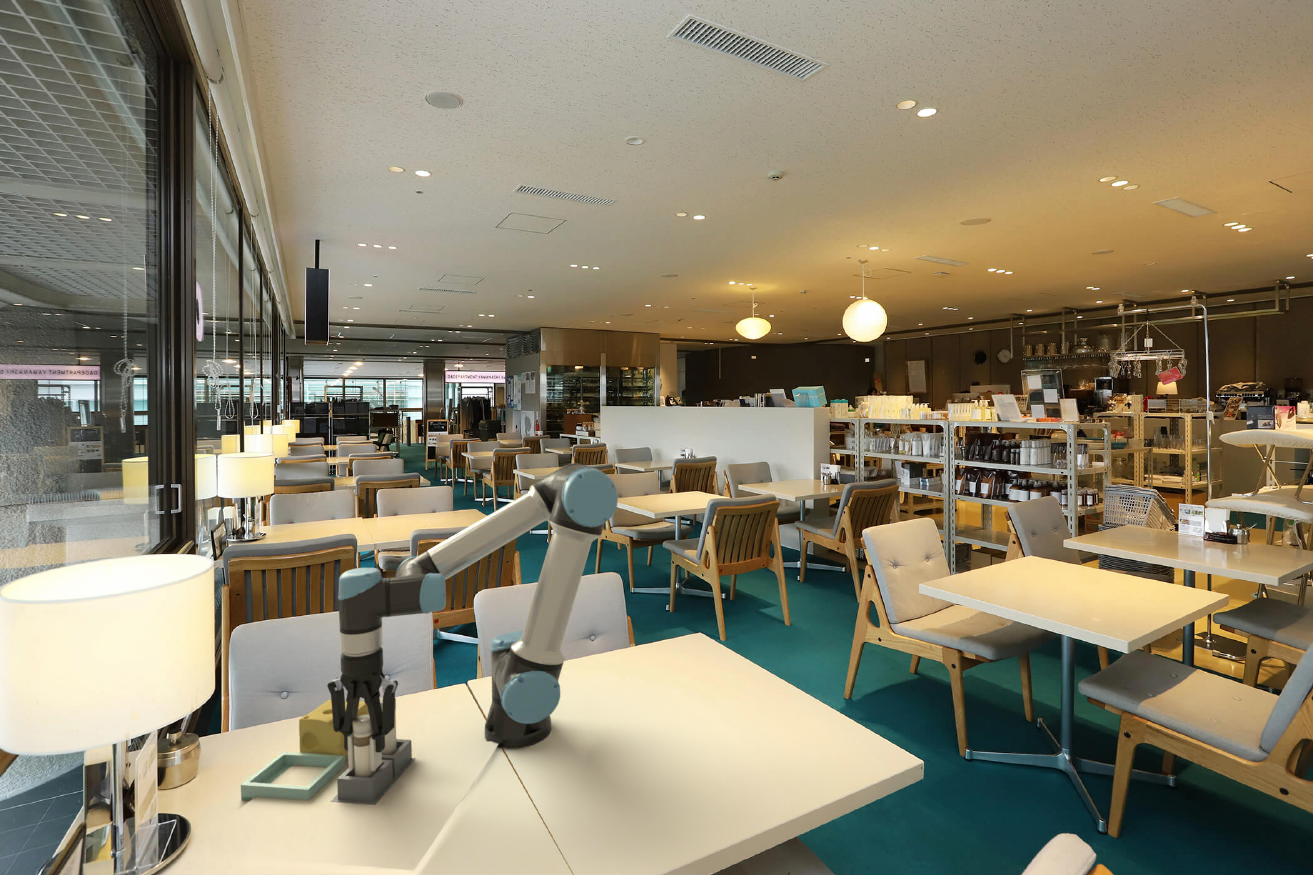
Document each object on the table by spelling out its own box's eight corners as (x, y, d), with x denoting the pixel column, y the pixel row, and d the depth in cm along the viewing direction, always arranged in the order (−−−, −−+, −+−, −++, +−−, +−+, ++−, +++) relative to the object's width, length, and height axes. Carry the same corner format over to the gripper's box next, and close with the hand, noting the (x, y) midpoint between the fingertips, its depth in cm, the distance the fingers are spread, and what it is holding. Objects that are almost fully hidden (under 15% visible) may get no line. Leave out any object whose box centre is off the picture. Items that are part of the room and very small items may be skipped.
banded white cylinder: (381, 783, 130) (379, 715, 129) (370, 795, 126) (367, 725, 125) (362, 782, 131) (360, 714, 130) (350, 794, 127) (348, 723, 126)
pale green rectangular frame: (345, 769, 137) (345, 755, 137) (308, 804, 125) (308, 789, 125) (283, 765, 139) (282, 751, 138) (241, 799, 127) (240, 784, 127)
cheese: (341, 769, 137) (340, 723, 137) (296, 763, 139) (295, 718, 139) (372, 743, 147) (371, 700, 147) (330, 738, 150) (329, 696, 149)
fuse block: (415, 762, 139) (414, 694, 139) (375, 809, 124) (373, 732, 123) (376, 760, 140) (374, 692, 140) (330, 806, 125) (328, 729, 124)
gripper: (412, 643, 130) (415, 758, 131) (332, 640, 132) (336, 753, 133) (393, 658, 122) (396, 780, 124) (308, 654, 124) (312, 774, 125)
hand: (365, 765), depth 128 cm, fingers closed on banded white cylinder, 4 cm apart
